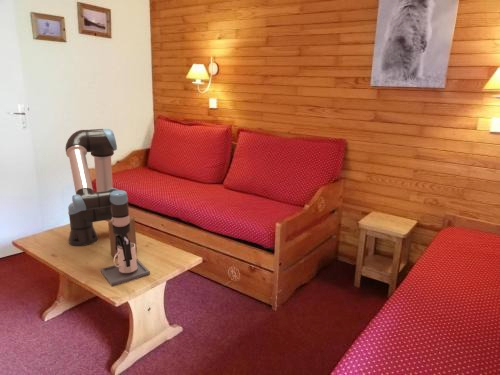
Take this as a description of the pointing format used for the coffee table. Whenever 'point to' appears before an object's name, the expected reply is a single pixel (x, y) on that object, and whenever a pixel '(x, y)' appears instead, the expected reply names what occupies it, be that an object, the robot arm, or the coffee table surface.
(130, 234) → the wooden block
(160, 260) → the coffee table surface
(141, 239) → the coffee table surface
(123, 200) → the robot arm
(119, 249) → the mug
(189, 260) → the coffee table surface
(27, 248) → the coffee table surface
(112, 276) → the tray
